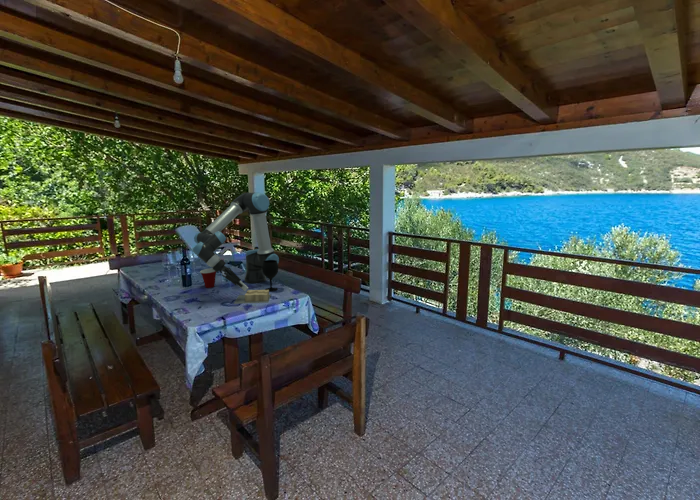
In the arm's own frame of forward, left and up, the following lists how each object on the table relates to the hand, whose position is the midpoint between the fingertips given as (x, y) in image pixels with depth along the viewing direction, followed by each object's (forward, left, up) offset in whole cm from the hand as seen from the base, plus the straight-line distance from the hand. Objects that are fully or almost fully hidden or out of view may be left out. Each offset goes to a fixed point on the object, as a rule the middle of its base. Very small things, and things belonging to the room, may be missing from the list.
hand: (246, 289), depth 210 cm
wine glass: (-18, +13, -7) cm, 23 cm away
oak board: (0, 0, -4) cm, 4 cm away
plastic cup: (-31, -30, -7) cm, 44 cm away
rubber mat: (0, +4, -7) cm, 7 cm away
